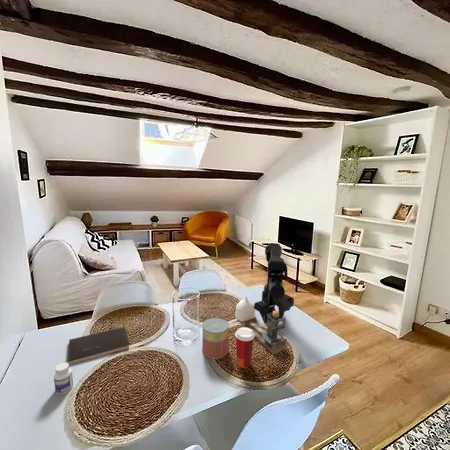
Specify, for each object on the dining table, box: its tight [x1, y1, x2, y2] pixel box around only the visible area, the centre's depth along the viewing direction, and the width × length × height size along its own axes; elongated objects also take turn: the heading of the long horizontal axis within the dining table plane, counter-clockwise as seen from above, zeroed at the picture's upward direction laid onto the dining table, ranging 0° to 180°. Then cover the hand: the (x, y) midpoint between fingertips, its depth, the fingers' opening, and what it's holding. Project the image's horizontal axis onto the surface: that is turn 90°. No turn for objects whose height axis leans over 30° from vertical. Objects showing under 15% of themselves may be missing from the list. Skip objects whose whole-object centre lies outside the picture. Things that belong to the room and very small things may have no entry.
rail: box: [243, 316, 287, 355], centre depth 120 cm, size 22×7×5 cm, turn 32°
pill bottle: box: [53, 362, 74, 395], centre depth 88 cm, size 5×5×9 cm
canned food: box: [201, 317, 230, 360], centre depth 110 cm, size 11×11×12 cm
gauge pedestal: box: [264, 312, 286, 331], centre depth 131 cm, size 7×7×5 cm
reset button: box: [272, 310, 279, 320], centre depth 130 cm, size 3×3×4 cm
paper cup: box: [234, 326, 255, 369], centre depth 103 cm, size 8×8×14 cm
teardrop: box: [234, 296, 256, 323], centre depth 138 cm, size 11×11×12 cm
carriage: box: [262, 324, 283, 346], centre depth 115 cm, size 6×6×7 cm
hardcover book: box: [66, 326, 130, 365], centre depth 112 cm, size 16×23×2 cm
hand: (273, 321), depth 114 cm, fingers open, 9 cm apart
